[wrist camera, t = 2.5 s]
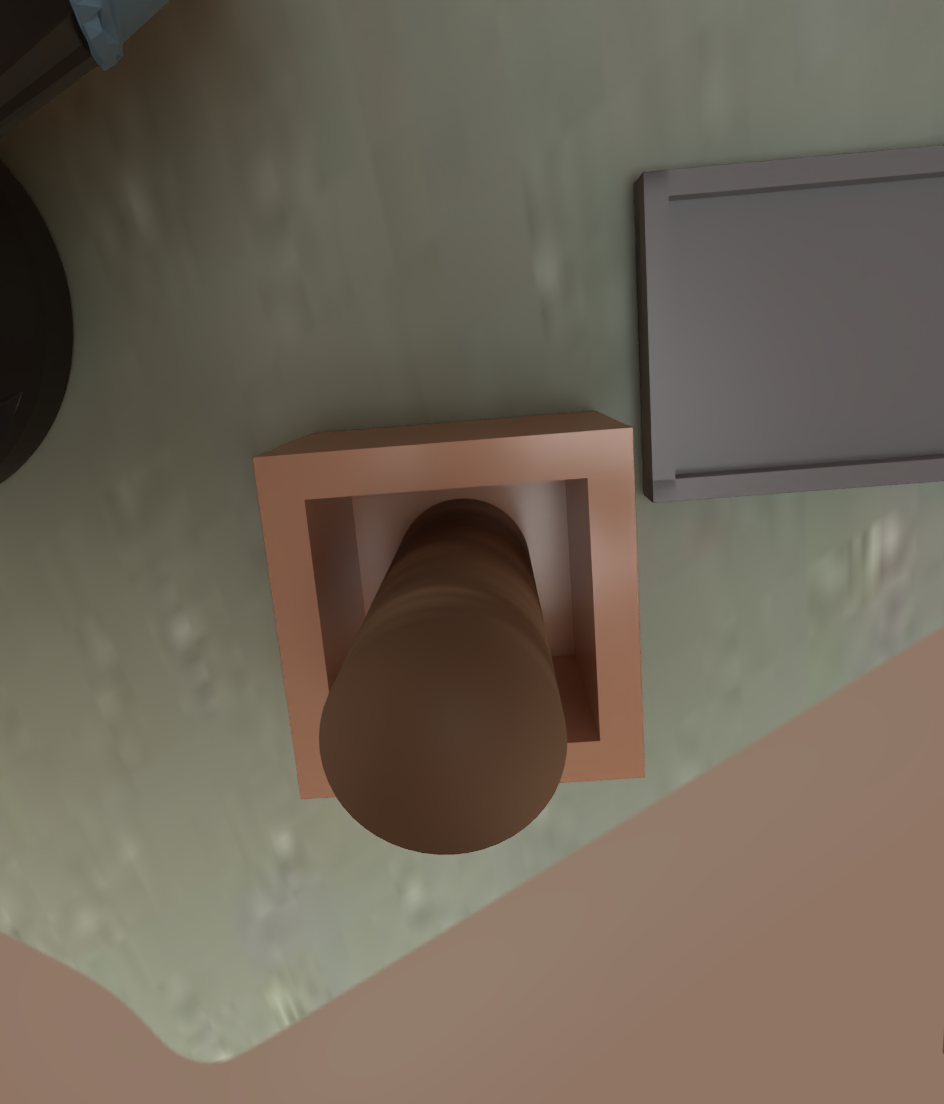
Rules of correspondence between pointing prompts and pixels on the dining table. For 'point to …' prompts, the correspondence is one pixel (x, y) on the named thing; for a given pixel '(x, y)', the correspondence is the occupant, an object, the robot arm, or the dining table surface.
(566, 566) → the open box
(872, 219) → the tray
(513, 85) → the dining table surface
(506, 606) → the dowel
